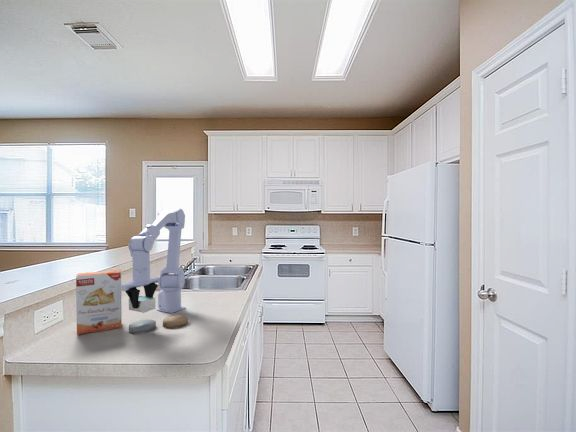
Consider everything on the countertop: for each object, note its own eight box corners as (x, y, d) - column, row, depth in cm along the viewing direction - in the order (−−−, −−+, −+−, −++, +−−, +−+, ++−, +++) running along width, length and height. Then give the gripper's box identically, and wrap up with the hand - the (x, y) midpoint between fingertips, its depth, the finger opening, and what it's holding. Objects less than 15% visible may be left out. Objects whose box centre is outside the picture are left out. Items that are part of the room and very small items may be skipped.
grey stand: (123, 330, 113) (123, 325, 113) (145, 322, 121) (144, 318, 121) (139, 335, 109) (139, 329, 108) (161, 326, 116) (161, 321, 116)
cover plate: (132, 301, 114) (132, 299, 114) (140, 299, 117) (140, 296, 117) (144, 303, 112) (144, 301, 112) (152, 300, 115) (152, 298, 115)
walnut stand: (157, 325, 117) (157, 321, 117) (176, 318, 125) (176, 313, 125) (174, 329, 113) (174, 324, 113) (192, 321, 121) (192, 317, 121)
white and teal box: (128, 309, 114) (128, 298, 114) (141, 306, 119) (140, 295, 119) (143, 312, 110) (143, 301, 110) (155, 308, 115) (155, 297, 115)
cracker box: (76, 335, 109) (75, 275, 109) (78, 330, 114) (77, 272, 114) (121, 328, 116) (120, 271, 115) (122, 323, 121) (120, 269, 121)
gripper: (130, 273, 106) (131, 313, 106) (165, 266, 119) (165, 302, 119) (117, 271, 109) (118, 310, 110) (152, 265, 122) (153, 299, 122)
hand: (142, 305), depth 115 cm, fingers closed on white and teal box, 5 cm apart
